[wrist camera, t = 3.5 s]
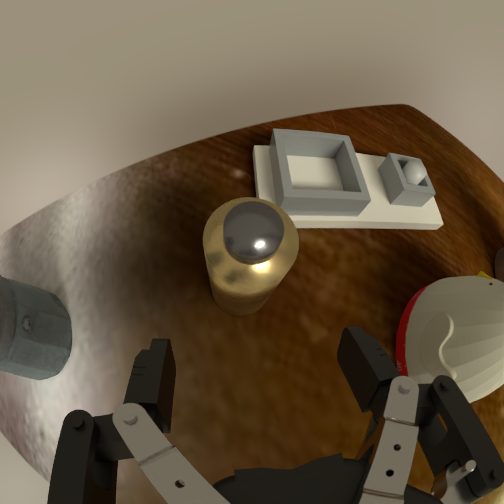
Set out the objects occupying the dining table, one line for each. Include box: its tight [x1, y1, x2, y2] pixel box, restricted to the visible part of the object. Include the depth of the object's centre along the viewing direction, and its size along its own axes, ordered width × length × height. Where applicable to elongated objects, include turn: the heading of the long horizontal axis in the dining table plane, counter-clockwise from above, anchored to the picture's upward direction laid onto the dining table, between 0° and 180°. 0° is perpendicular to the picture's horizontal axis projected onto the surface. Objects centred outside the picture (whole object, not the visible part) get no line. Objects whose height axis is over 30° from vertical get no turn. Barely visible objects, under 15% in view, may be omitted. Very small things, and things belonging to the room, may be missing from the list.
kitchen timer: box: [395, 271, 504, 403], centre depth 15 cm, size 14×14×15 cm
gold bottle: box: [203, 197, 299, 316], centre depth 18 cm, size 5×5×11 cm
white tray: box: [253, 129, 443, 230], centre depth 25 cm, size 22×9×6 cm, turn 94°
